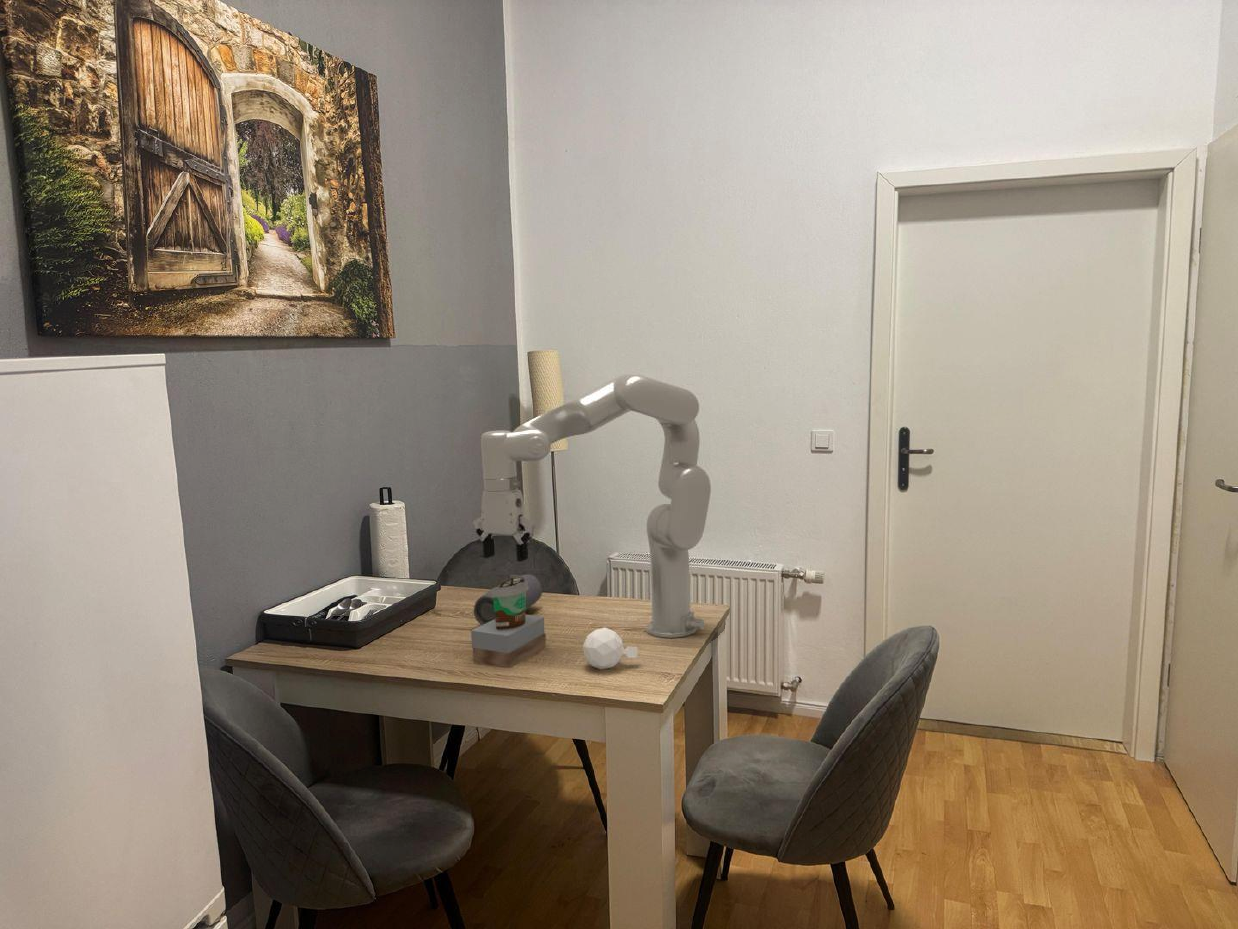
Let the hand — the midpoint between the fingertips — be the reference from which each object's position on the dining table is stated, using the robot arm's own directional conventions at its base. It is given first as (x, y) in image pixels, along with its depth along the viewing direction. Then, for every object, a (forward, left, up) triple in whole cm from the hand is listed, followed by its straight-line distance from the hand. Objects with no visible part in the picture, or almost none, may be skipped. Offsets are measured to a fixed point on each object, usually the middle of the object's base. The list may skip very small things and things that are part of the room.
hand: (505, 558), depth 197 cm
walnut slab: (0, 0, -23) cm, 23 cm away
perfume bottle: (-26, -3, -23) cm, 35 cm away
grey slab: (0, 0, -19) cm, 19 cm away
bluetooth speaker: (+17, -22, -23) cm, 36 cm away
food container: (-2, 0, -16) cm, 16 cm away
